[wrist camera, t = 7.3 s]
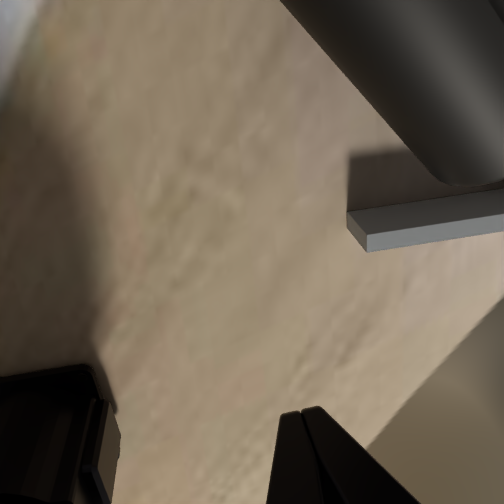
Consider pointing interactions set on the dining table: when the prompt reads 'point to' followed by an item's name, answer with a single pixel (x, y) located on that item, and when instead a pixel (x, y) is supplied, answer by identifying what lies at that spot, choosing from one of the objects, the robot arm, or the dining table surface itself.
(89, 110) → the dining table surface
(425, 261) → the dining table surface
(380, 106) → the end cap
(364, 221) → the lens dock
